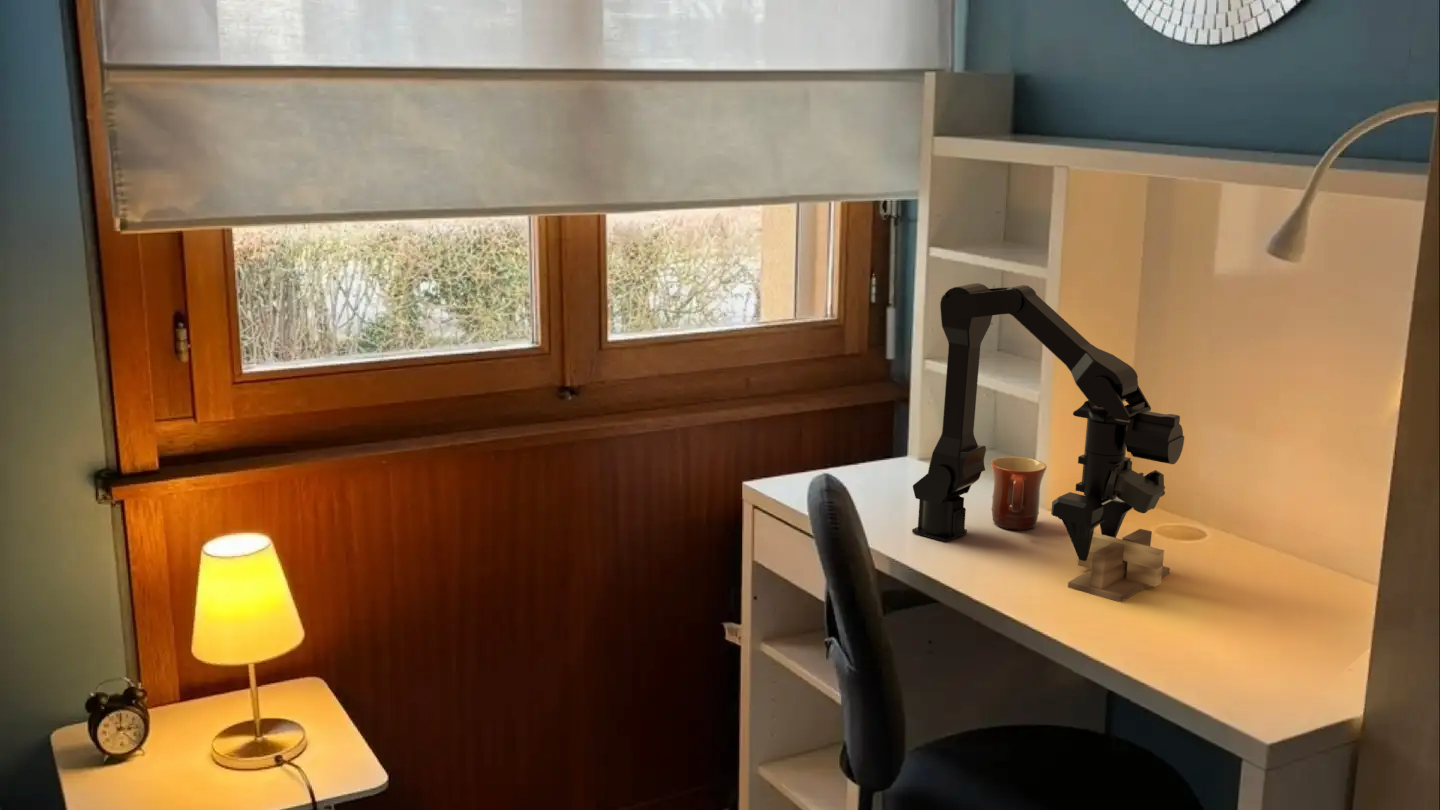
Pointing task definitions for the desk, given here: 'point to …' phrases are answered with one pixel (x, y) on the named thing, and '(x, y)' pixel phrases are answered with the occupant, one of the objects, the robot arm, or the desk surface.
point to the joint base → (1113, 571)
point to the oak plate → (1131, 559)
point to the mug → (1016, 492)
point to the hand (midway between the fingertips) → (1095, 553)
